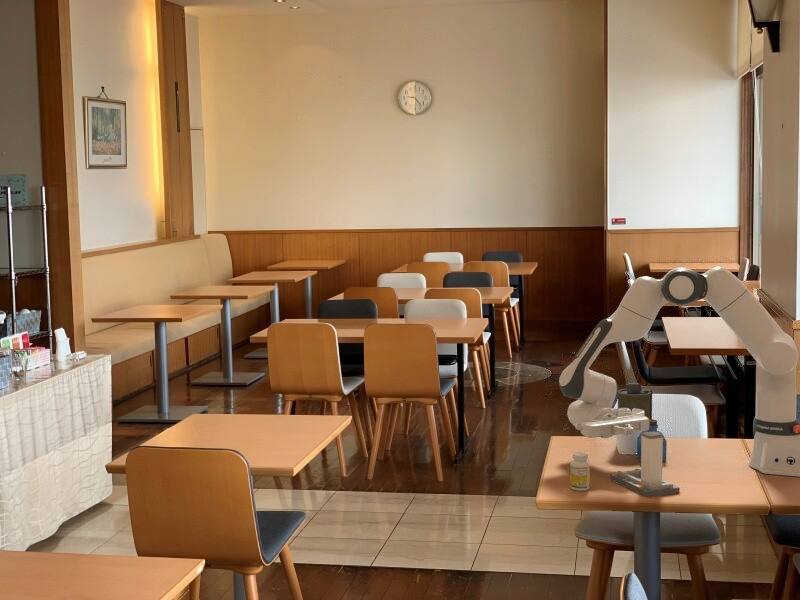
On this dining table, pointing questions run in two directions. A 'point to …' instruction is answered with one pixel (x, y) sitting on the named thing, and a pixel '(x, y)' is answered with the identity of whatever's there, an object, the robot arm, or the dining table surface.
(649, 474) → the cream rectangular block
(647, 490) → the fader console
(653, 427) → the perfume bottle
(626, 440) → the foam cup
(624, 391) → the canister
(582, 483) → the supplement bottle
